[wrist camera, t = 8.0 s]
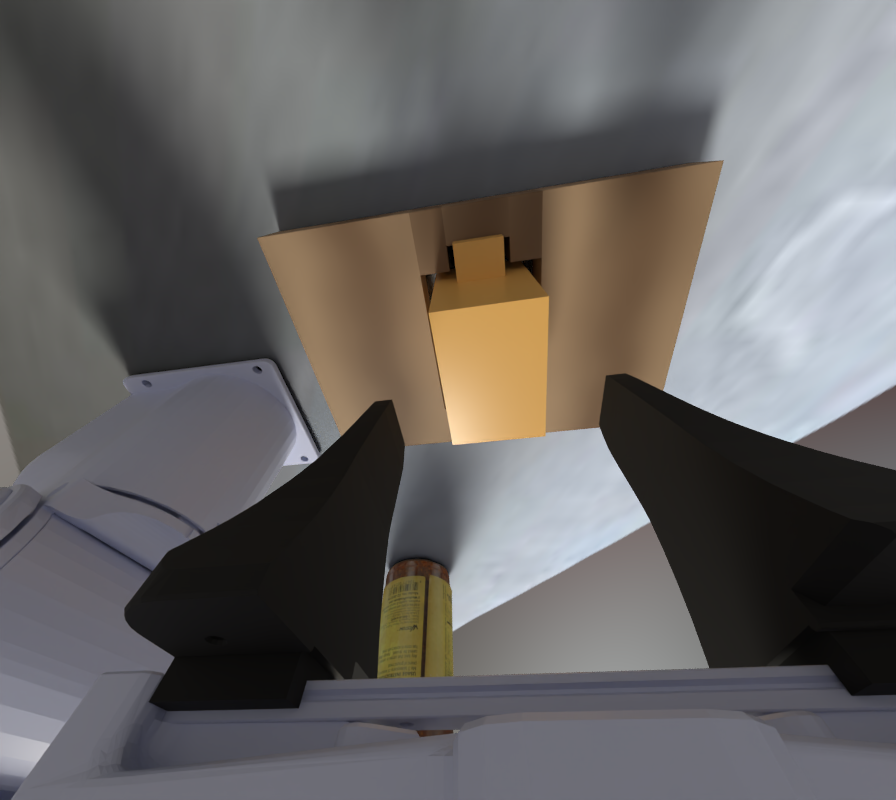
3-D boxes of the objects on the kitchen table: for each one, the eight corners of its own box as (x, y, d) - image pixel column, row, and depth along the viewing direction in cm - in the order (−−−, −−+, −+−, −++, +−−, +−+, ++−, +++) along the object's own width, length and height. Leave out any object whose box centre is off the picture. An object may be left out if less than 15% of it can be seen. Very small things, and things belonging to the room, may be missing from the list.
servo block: (456, 397, 20) (457, 469, 15) (431, 237, 15) (419, 266, 10) (522, 390, 20) (544, 461, 15) (518, 224, 15) (550, 246, 10)
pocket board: (355, 430, 22) (347, 451, 20) (279, 231, 15) (257, 238, 13) (638, 401, 20) (654, 422, 18) (690, 163, 13) (723, 160, 12)
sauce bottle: (380, 581, 33) (304, 990, 16) (397, 548, 29) (321, 1020, 13) (442, 594, 34) (429, 987, 17) (464, 563, 30) (475, 1013, 14)
